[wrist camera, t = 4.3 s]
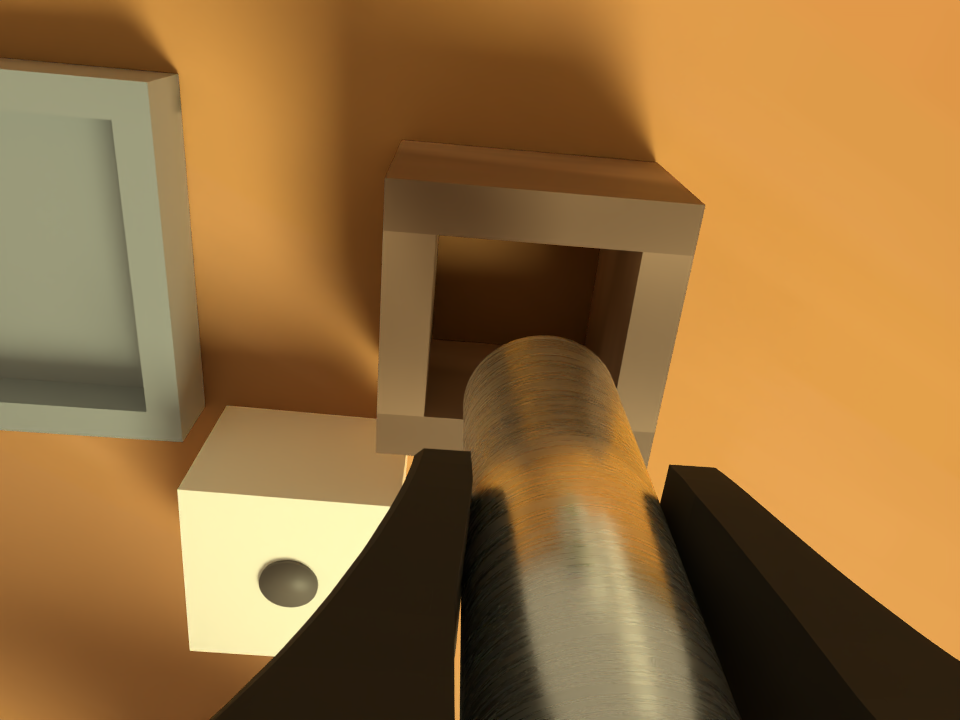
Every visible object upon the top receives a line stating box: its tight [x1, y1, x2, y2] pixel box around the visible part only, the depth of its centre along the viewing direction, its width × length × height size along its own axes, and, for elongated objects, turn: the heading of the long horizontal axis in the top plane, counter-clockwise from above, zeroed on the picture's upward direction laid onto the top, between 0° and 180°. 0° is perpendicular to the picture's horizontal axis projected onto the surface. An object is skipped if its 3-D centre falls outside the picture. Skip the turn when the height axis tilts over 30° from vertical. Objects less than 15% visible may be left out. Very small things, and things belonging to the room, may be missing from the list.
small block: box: [177, 405, 408, 656], centre depth 20 cm, size 5×5×4 cm
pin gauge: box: [460, 335, 741, 720], centre depth 9 cm, size 3×3×8 cm
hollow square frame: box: [376, 140, 705, 469], centre depth 17 cm, size 6×6×4 cm
